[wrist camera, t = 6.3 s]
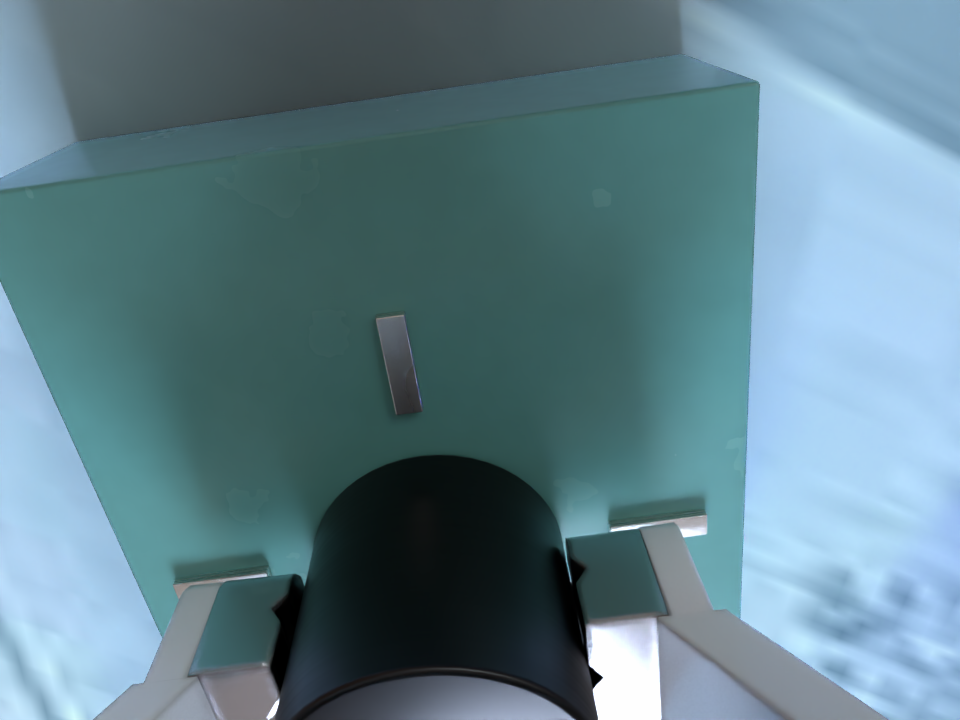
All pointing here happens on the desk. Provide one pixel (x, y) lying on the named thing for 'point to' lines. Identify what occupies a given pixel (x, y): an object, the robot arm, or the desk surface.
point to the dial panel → (403, 311)
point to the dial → (438, 603)
